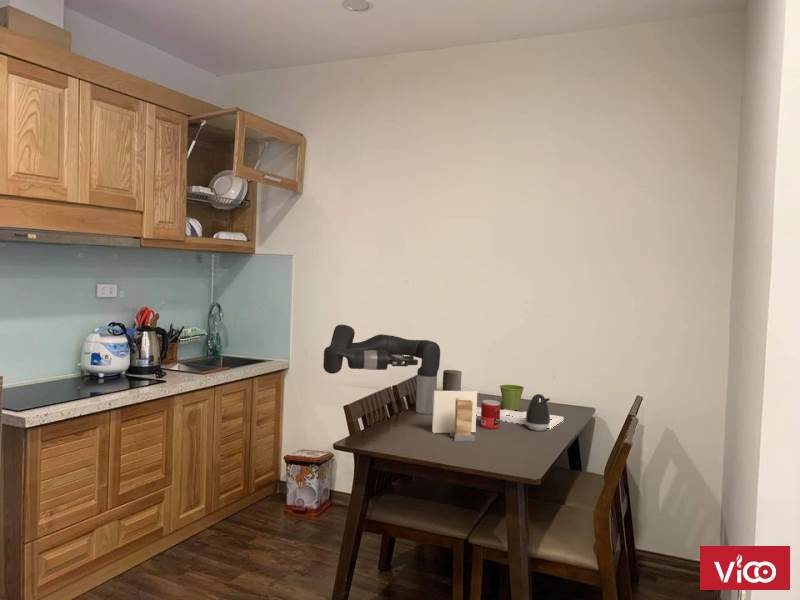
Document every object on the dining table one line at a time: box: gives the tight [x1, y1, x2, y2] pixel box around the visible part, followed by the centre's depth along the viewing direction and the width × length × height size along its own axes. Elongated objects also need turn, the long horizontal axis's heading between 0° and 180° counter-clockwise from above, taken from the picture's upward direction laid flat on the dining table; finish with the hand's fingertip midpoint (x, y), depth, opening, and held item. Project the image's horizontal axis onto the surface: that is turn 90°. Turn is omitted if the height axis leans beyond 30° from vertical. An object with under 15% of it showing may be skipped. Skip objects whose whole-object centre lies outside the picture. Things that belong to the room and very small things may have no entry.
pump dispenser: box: [525, 393, 551, 432], centre depth 262 cm, size 10×10×15 cm
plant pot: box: [499, 384, 525, 411], centre depth 298 cm, size 12×12×11 cm
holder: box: [476, 406, 565, 430], centre depth 283 cm, size 45×18×3 cm, turn 57°
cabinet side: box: [431, 390, 478, 442], centre depth 246 cm, size 14×18×17 cm
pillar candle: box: [441, 368, 463, 391], centre depth 323 cm, size 10×10×15 cm
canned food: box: [480, 399, 501, 430], centre depth 263 cm, size 8×8×11 cm
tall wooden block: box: [454, 400, 473, 435], centre depth 243 cm, size 4×6×15 cm, turn 99°
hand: (415, 360), depth 244 cm, fingers open, 8 cm apart
